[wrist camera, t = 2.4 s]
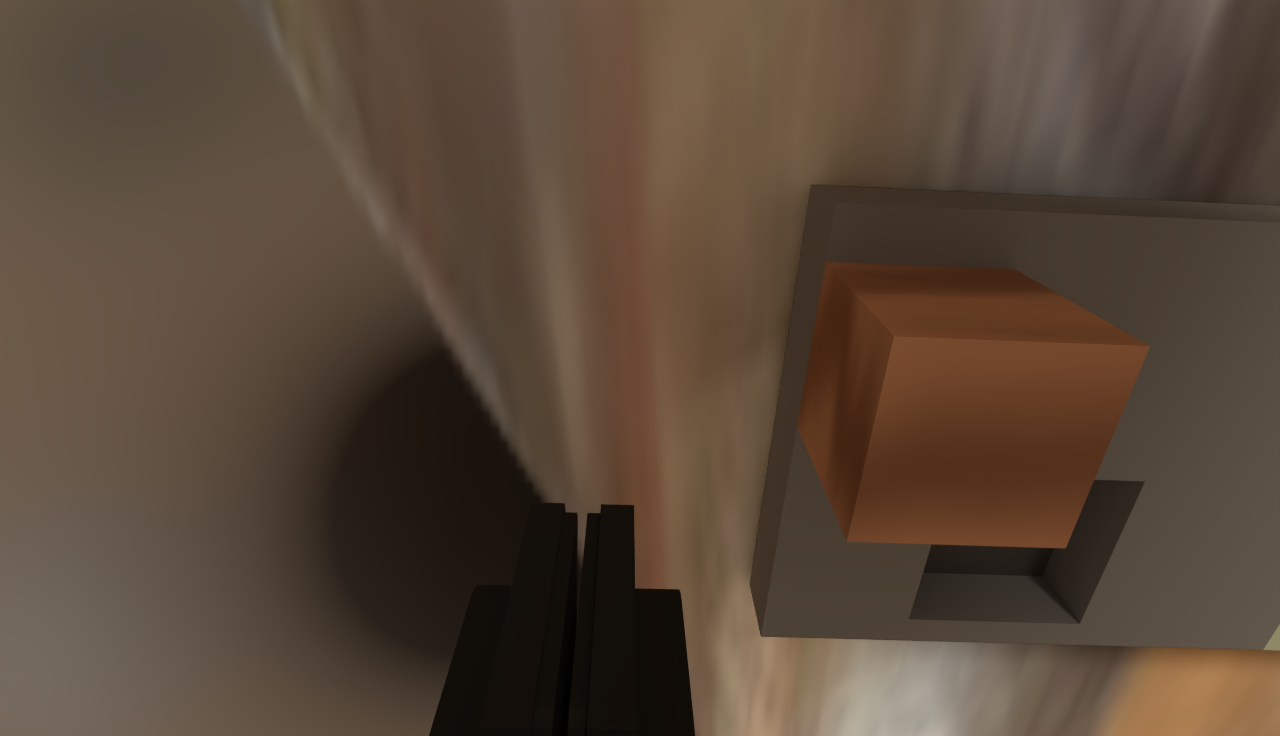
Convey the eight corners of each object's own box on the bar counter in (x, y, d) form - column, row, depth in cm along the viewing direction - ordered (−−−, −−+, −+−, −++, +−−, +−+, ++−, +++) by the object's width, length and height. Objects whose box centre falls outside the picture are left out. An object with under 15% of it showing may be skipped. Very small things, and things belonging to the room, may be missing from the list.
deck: (811, 184, 19) (860, 221, 15) (1713, 224, 19) (1999, 270, 15) (749, 583, 25) (771, 686, 21) (1426, 603, 26) (1573, 706, 22)
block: (825, 261, 17) (894, 336, 13) (1014, 269, 17) (1149, 346, 13) (796, 426, 19) (846, 541, 15) (965, 433, 19) (1065, 548, 15)
